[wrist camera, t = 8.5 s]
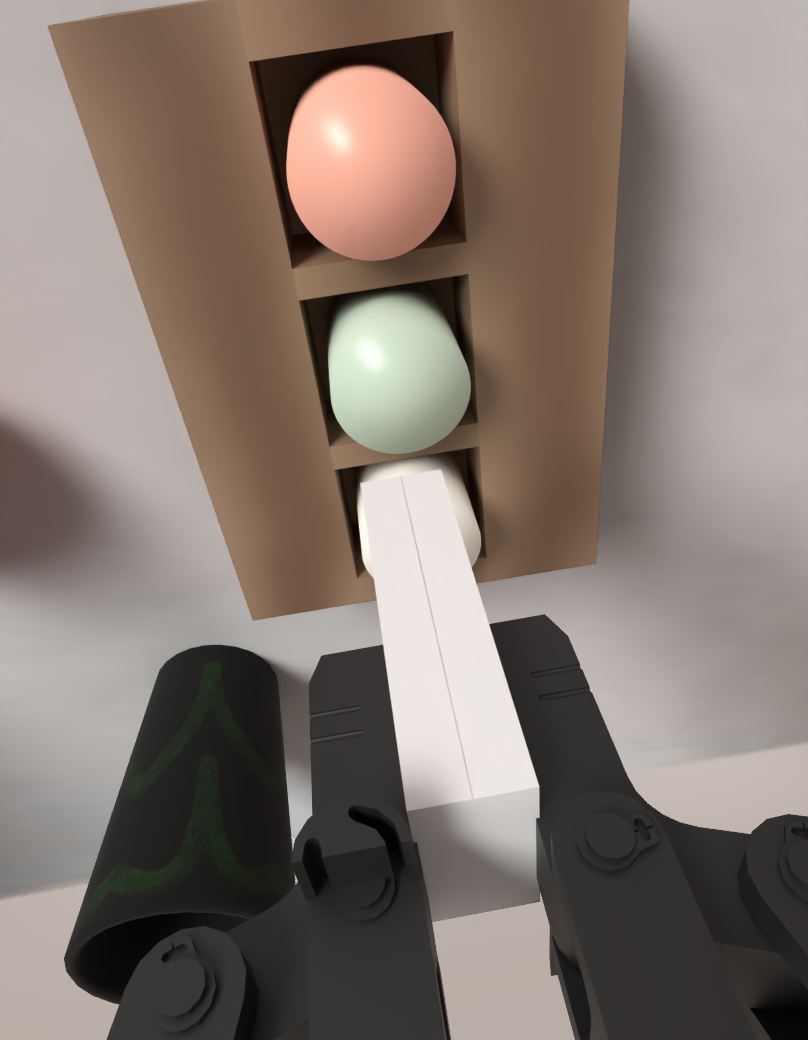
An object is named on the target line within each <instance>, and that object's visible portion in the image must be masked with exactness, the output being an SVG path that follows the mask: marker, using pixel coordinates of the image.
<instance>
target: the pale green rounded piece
mask: <svg viewBox="0 0 808 1040" xmlns="http://www.w3.org/2000/svg"><path fill="white" fill-rule="evenodd" d="M326 339H327V353H328V366H329V380H330V394H331V403H332V408H333V411H334V414H335V416H336V419H337V421H338V422H339V424H340V425H341V427H342V428H343V430H344V431H345V432H346V433H347V434H348V435H349V436H350V437H351V438H352V439H354V440H355V441H356V442H358V443H359V444H361V445H363V446H365V447H367V448H369V449H372V450H375V451H378V452H382V453H390V454H404V453H411V452H416V451H419V450H422V449H425V448H428V447H430V446H432V445H434V444H436V443H437V442H439V441H440V440H442V439H443V438H444V437H446V436H447V435H448V434H449V433H450V432H451V431H452V430H453V429H454V428H455V427H456V426H457V424H458V423H459V422H460V420H461V418H462V417H463V415H464V413H465V411H466V408H467V406H468V402H469V398H470V392H471V381H470V374H469V371H468V367H467V365H466V362H465V360H464V358H463V355H462V353H461V351H460V348H459V346H458V344H457V341H456V339H455V337H454V334H453V332H452V330H451V328H450V325H449V323H448V321H447V318H446V316H445V314H444V311H443V309H442V307H441V305H440V302H439V301H438V299H437V298H436V296H435V295H434V293H433V292H432V291H431V290H430V289H429V288H428V287H427V286H426V285H424V284H423V283H421V282H414V283H408V284H401V285H395V286H389V287H382V288H376V289H370V290H363V291H357V292H351V293H344V294H340V295H339V296H338V298H337V299H336V301H335V302H334V304H333V306H332V308H331V310H330V313H329V316H328V319H327V326H326Z"/></svg>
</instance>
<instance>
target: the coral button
mask: <svg viewBox="0 0 808 1040" xmlns="http://www.w3.org/2000/svg"><path fill="white" fill-rule="evenodd" d="M286 168H287V182H288V189H289V192H290V196H291V200H292V202H293V205H294V207H295V210H296V212H297V214H298V215H299V217H300V219H301V221H302V222H303V224H304V225H305V226H306V228H307V229H308V230H309V231H310V233H311V234H312V235H313V236H314V237H315V238H316V239H317V240H319V241H320V242H321V243H322V244H323V245H325V246H326V247H328V248H329V249H331V250H332V251H334V252H337V253H339V254H341V255H343V256H346V257H349V258H352V259H358V260H364V261H378V260H386V259H390V258H394V257H397V256H400V255H402V254H405V253H407V252H408V251H410V250H412V249H414V248H415V247H417V246H418V245H420V244H421V243H422V242H423V241H424V240H425V239H427V238H428V237H429V236H430V235H431V234H432V232H433V231H434V230H435V229H436V228H437V226H438V225H439V223H440V222H441V220H442V219H443V217H444V215H445V213H446V211H447V209H448V207H449V204H450V201H451V198H452V195H453V190H454V186H455V178H456V159H455V152H454V147H453V143H452V139H451V136H450V133H449V131H448V128H447V126H446V124H445V122H444V121H443V119H442V117H441V115H440V114H439V113H438V111H437V110H436V108H435V107H434V106H433V105H432V104H431V103H430V102H429V101H428V99H427V98H426V97H425V96H424V95H422V94H421V93H420V92H419V91H418V90H417V89H416V88H415V87H414V86H413V85H412V84H411V83H410V82H409V81H408V80H407V79H406V78H405V77H404V76H402V75H401V74H400V73H399V72H397V71H396V70H395V69H393V68H391V67H390V66H388V65H386V64H384V63H381V62H379V61H375V60H371V59H365V58H350V59H345V60H340V61H337V62H335V63H332V64H330V65H328V66H326V67H325V68H323V69H321V70H320V71H319V72H318V73H316V74H315V75H314V76H313V77H312V78H311V79H310V80H309V81H308V82H307V83H306V85H305V86H304V88H303V89H302V90H301V92H300V94H299V96H298V98H297V100H296V102H295V104H294V107H293V110H292V114H291V118H290V125H289V136H288V149H287V162H286Z"/></svg>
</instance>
